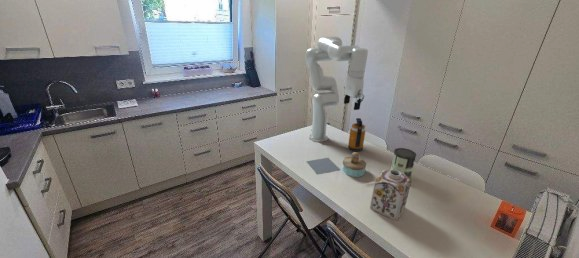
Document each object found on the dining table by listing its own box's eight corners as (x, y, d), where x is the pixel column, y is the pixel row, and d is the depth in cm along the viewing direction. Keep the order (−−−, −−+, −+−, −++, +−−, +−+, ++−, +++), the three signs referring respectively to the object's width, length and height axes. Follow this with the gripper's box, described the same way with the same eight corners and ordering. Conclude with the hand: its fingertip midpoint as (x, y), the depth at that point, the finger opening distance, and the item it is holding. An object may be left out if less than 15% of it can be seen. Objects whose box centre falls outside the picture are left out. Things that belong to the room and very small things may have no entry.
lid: (338, 160, 135) (339, 150, 132) (357, 156, 139) (358, 147, 136) (351, 171, 124) (352, 161, 122) (371, 167, 128) (372, 157, 126)
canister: (361, 146, 162) (365, 117, 154) (364, 154, 152) (369, 123, 144) (347, 145, 163) (350, 116, 155) (349, 153, 153) (353, 122, 145)
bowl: (339, 168, 136) (339, 160, 134) (356, 165, 140) (357, 157, 138) (350, 179, 127) (351, 171, 125) (368, 175, 130) (369, 167, 128)
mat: (306, 162, 141) (306, 161, 141) (328, 158, 146) (328, 157, 146) (317, 175, 129) (317, 174, 129) (340, 170, 134) (340, 169, 134)
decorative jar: (379, 195, 115) (386, 161, 108) (405, 207, 109) (414, 171, 102) (368, 209, 107) (375, 173, 100) (396, 222, 100) (405, 184, 93)
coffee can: (407, 172, 134) (413, 148, 129) (412, 183, 125) (418, 158, 120) (387, 169, 136) (392, 146, 131) (390, 180, 127) (396, 156, 121)
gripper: (340, 70, 131) (336, 101, 138) (359, 78, 116) (354, 112, 124) (353, 70, 133) (348, 100, 141) (373, 77, 119) (367, 111, 126)
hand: (351, 106), depth 132 cm, fingers open, 9 cm apart
